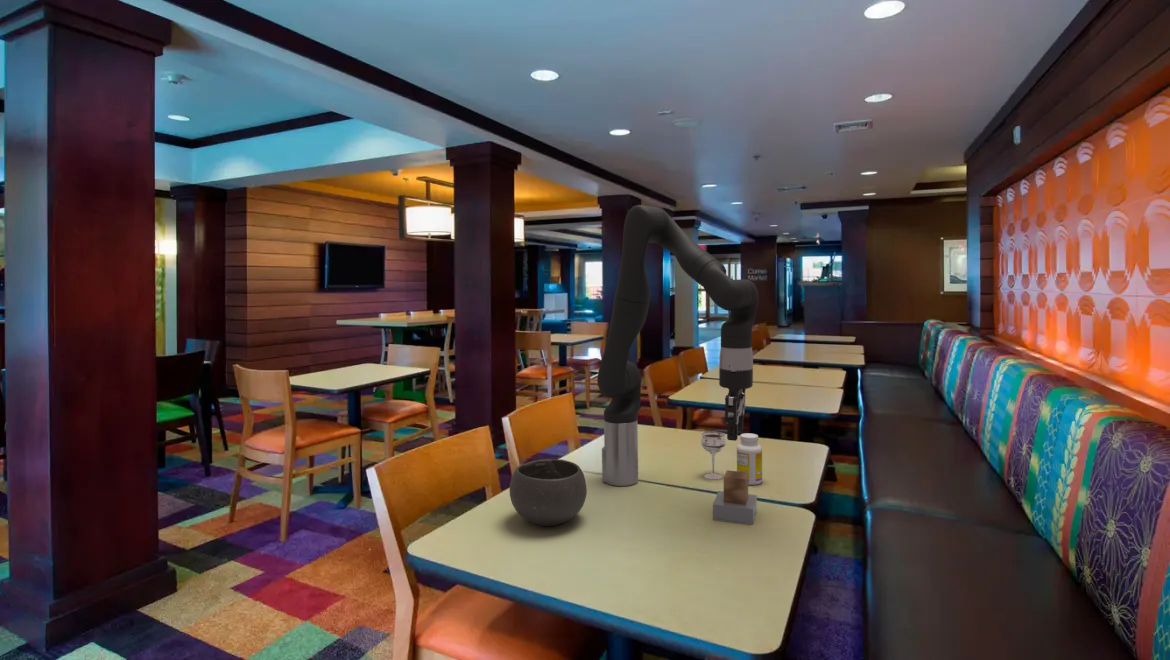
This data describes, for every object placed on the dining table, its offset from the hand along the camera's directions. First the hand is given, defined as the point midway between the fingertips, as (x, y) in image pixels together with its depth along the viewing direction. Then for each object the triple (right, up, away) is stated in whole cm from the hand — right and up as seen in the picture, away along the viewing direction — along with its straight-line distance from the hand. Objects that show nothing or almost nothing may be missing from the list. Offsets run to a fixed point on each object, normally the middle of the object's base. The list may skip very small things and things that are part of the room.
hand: (735, 435), depth 139 cm
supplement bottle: (+10, -17, +24) cm, 31 cm away
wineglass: (+1, -17, +29) cm, 33 cm away
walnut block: (0, -15, +1) cm, 15 cm away
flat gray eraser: (0, -19, +2) cm, 20 cm away
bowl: (-43, -20, +1) cm, 48 cm away
